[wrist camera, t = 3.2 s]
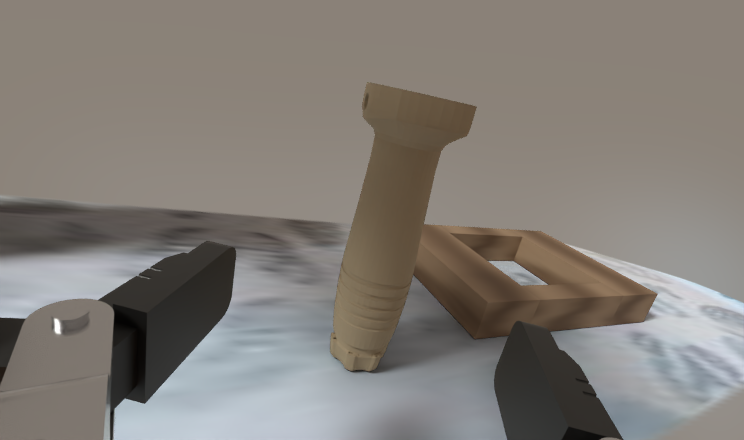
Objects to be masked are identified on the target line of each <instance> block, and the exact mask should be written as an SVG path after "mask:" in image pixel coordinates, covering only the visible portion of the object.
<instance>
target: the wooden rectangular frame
mask: <svg viewBox="0 0 744 440" xmlns="http://www.w3.org/2000/svg"><path fill="white" fill-rule="evenodd" d="M487 260H496V261H515V262H516V263H518V264H519V265H521V266H522V267H524V268H525V269H527V270H528V271H530V272H531V273H533V274H534V275H536V276H537V277H539V278H540V279H542V280H543V281H545V282H546V283H547V284H549V285H527V286H521V285H519V284H518V283H517V282H515V281H514V280H513V279H511V278H510V277H508V276H507V275H506V274H504V273H503V272H502V271H500V270H499V269H498V268H496V267H495V266H494V265H492V264H491V263H489V262H488V261H487ZM413 274H414V276H415V277H416V278H417V279H418V280H419V281H420V282H421V283H422V284H423V285H424V286H425V287H426V288H427V289H428V290H429V291H430V292H431V293H432V294H433V296H434V297H435V298H436V299H437V300H438V301H439V302H440V303H441V304H442V305H443V306H444V307H445V308H446V309H447V310H448V311H449V312H450V313H451V315H452V316H453V317H454V318H455V319H456V320H457V321H458V322H459V323H460V324H461V325H462V326H463V327H464V328H465V329H466V330H467V331H468V332H469V333H470V335H471V336H472V337H473V338H474V339H480V338H490V337H500V336H509V334H510V332H511V329H512V327H513V325H514V324H515V322H516V321H522V322H526V323H530V324H534V325H538V326H542V327H546V328H547V329H548V330H549V331H558V330H568V329H578V328H587V327H597V326H607V325H617V324H626V323H636V322H643V321H644V319H645V317H646V315H647V314H648V312H649V310H650V308H651V306H652V304H653V302H654V300H655V298H656V296H657V293H655V292H653V291H651V290H649V289H647V288H646V287H644V286H642V285H640V284H638V283H636V282H634V281H633V280H631V279H629V278H627V277H625V276H623V275H621V274H620V273H618V272H616V271H614V270H612V269H610V268H608V267H606V266H605V265H603V264H601V263H599V262H597V261H595V260H593V259H592V258H590V257H588V256H586V255H584V254H582V253H580V252H578V251H577V250H575V249H573V248H571V247H569V246H567V245H565V244H564V243H562V242H560V241H558V240H556V239H554V238H552V237H551V236H549V235H547V234H545V233H543V232H541V231H527V230H526V231H525V230H510V229H493V228H475V227H459V226H442V225H426V224H425V225H423V230H422V235H421V240H420V244H419V249H418V254H417V259H416V263H415V268H414V273H413Z"/></svg>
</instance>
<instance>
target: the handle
mask: <svg viewBox="0 0 744 440" xmlns="http://www.w3.org/2000/svg"><path fill="white" fill-rule="evenodd" d="M476 108H477V107H475V106H472V105H468V104H464V103H460V102H455V101H451V100H447V99H442V98H438V97H434V96H429V95H425V94H421V93H416V92H412V91H407V90H403V89H398V88H393V87H389V86H384V85H379V84H375V83H369V82H367V84H366V89H365V93H364V98H363V103H362V109H363V117H364V119H365V120H366V121H367V122H368V124H370V125H371V126H372V127H373V129H374V132H375V138H374V143H373V147H372V152H371V157H370V161H369V164H368V168H367V172H366V176H365V179H364V183H363V187H362V191H361V194H360V198H359V202H358V206H357V209H356V213H355V217H354V220H353V223H352V227H351V231H350V234H349V238H348V241H347V245H346V249H345V252H344V256H343V261H342V265H341V270H340V275H339V280H338V286H337V294H336V300H335V307H334V320H333V328H334V332H335V333H331V341H330V352H331V354H332V355H333V357H335V358H337V359H338V360H340V361H341V362H342V364H343V365H344V367H345V369H347V370H349V371H354V370H366V371H368V372H369V371H372V370H374V369H376V368H377V365H378V363H379V361H380V358H382V357H383V355H384V353H385V351H386V349H387V346H388V344H389V341H390V340H391V338H392V335H393V333H394V331H395V329H396V327H397V324H398V322H399V319H400V316H401V313H402V310H403V308H404V305H405V301H406V298H407V295H408V291H409V288H410V285H411V281H412V277H413V273H414V268H415V263H416V259H417V254H418V249H419V244H420V240H421V235H422V230H423V225H424V220H425V216H426V211H427V207H428V202H429V198H430V193H431V189H432V184H433V180H434V175H435V171H436V168H437V164H438V161H439V157H440V154H441V151H442V150H443V148H444V147H445V146H446V145H448V144H449V143H451V142H453V141H456V140H458V139H460V138H463V137H466V136H467V134H468V133H469V130H470V127H471V124H472V121H473V118H474V114H475V111H476Z"/></svg>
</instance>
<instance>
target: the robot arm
mask: <svg viewBox="0 0 744 440" xmlns="http://www.w3.org/2000/svg"><path fill="white" fill-rule="evenodd" d="M235 260H236V250H235V248H234V247H231V246H227V245H223V244H219V243H215V242H211V241H206V242H204V243H203V244H201V245H200V246H198V247H197V248H195V249H194V250H192V251H191V252H189V253H180V254H177V255H174V256H170V257H167V258H164V259H163V260H161V261H159V262H158V263H156V264H155V265H153V266H151V268H150V269H147V270H145V271H144V272H142V273H140V274H139V276H136V277H134V278H132V279H131V280H129V281H128V282H126V283H124V284H123V285H121V286H120V287H118V288H116V289H115V290H113V291H112V292H110V293H108V294H107V295H105V296H104V297H102V298H100V299H99V300H93V299H72V300H65V301H60V302H56V303H53V304H50V305H47V306H45V307H42V308H40V309H38V310H37V311H35V312H33V313H32V314H31V315H29V316H28V317H27V318H26V319H18V318H0V440H114V425H115V408H116V407H117V406H118V405H119V404H120V403H121V402H122V401H123V400H124V399H125V398H126V399H129V400H133V401H137V402H140V403H144V404H145V403H146V402H147V401H148V400H149V398H150V397H151V396H152V395H153V394H154V393H155V392H156V391H157V390H158V388H159V387H160V386H161V385H162V384H163V383H164V382H165V381H166V380H167V379H168V377H169V376H170V375H171V374H172V373H173V372H174V371H175V370H176V369H177V367H178V366H179V365H180V364H181V363H182V362H183V361H184V360H185V359H186V357H187V356H188V355H189V354H190V353H191V352H192V351H193V350H194V349H195V347H196V346H197V345H198V344H199V343H200V342H201V341H202V340H203V339H204V337H205V336H206V335H207V334H208V333H209V332H210V331H211V330H212V329H213V328H214V326H215V325H216V324H217V323H218V322H219V321H220V320H221V319H222V317H223V316H224V315H225V313H226V311H227V309H228V307H229V304H230V301H231V297H232V288H233V279H234V270H235ZM494 388H495V393H496V397H497V401H498V405H499V409H500V413H501V417H502V421H503V424H504V428H505V432H506V436H507V440H623V439H622V437H621V435H620V433H619V432H618V430H617V428H616V427H615V425H614V423H613V422H612V420H611V418H610V417H609V415H608V413H607V411H606V410H605V408H604V406H603V405H602V403H601V401H600V400H599V398H596V393H595V391H594V389H593V388H592V386H591V385H590V384H589V381H588V379H587V378H586V376H585V374H584V373H583V371H582V369H581V367H580V366H579V365H578V364H577V363H576V362H575V361H574V360H573V359H572V358H571V357H570V356H569V355H568V354H567V353H566V352H565V351H562V350H559V348H558V346H557V344H556V343H555V341H554V339H553V337H552V335H551V333H550V332H549V330H548V329H547V328H546V327H542V326H538V325H534V324H530V323H526V322H522V321H516V322H515V324H514V325H513V327H512V329H511V332H510V334H509V337H508V339H507V342H506V344H505V347H504V349H503V352H502V354H501V357H500V359H499V362H498V364H497V367H496V371H495V378H494Z"/></svg>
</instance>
